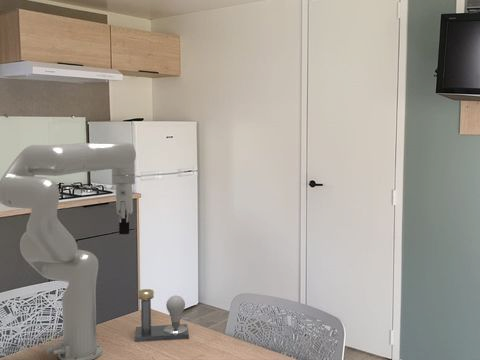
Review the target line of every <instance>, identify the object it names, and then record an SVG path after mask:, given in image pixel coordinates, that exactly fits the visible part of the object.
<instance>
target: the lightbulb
mask: <svg viewBox="0 0 480 360" xmlns="http://www.w3.org/2000/svg"><path fill="white" fill-rule="evenodd" d="M185 307H186V302H185V300H184V298H183V297H182V296H179V295H173V296H170V297H169V298H168V299H167V301H166V310H167V312H168V313H169V316H170V320H171V325H172V327H173V328H175V329H177V328H178V327H179V326H180V323H181V318H182V314H183V312H184V310H185Z"/></svg>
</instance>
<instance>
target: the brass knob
mask: <svg viewBox="0 0 480 360" xmlns="http://www.w3.org/2000/svg"><path fill="white" fill-rule="evenodd" d="M154 296H155V295H154V289H150V288H149V289H148V288H144V289H139V290H138V291H137V298H138V300H140V301H141V300H144V301H147V300H149V299H151V300H152V299H153V298H154Z"/></svg>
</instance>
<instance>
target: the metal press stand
mask: <svg viewBox="0 0 480 360" xmlns="http://www.w3.org/2000/svg"><path fill="white" fill-rule="evenodd" d="M151 300H152V299H149V300H147V301H144V300H140V308H141V309H140V310H141V311H140V313H141V315H140V318H141V320H140V321H141V326H135V333H134V342H135V343H136V342H150V341H154V342H155V341H170V340H184V339H185V340H188V339H190V338H189V328H188V324H187V323H181V324H180V326H179V327H178V328H177V329H175V328H173V327H172V324H162V325H161V324H160V325H152V306H151V305H152V304H151V303H152V301H151Z"/></svg>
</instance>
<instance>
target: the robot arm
mask: <svg viewBox="0 0 480 360" xmlns="http://www.w3.org/2000/svg"><path fill="white" fill-rule="evenodd" d="M136 158H137V153H136V149H135V146H134V144H133V143H131V142H98V143H89V142H87V143H86V142H78V143H67V144H65V143H64V144H50V145H49V144H31V145H29V146H26V147H24V148H23V150H22V151H21V152H20V153H19V154H18V155H17V156H16V158H15V159H14V160H13V161H12V163H11V165H10V166H9V167H8V169H7V170H6V171H5V172H4V174H3V175H2V177H0V204H2V205H3V206H5V207H7V208H8V207H9V208H15V209H17V208H18V209H31V210H30V215H29V218H28V221H27V224H26V231H25V232H24V233H23V234H22V236H21V238H20V241H19V250H20V253H21V256H22V257H23V259H24V260H25V261H26V262H27V263H28V264H29V265H30V266H31V267H32V268H33V269H34V270H35V271H36V272H37V273H39V275H41V276H42V277H43V278H44V279H48V280H53V281H59V282H64V283H68V285H67V287H66V288H65V290H64V292H63V294H62V296H61V297H62V298H61V299H62V300H61V304H62V305H61V306H62V307H61V310H62V338H63V339H60V343H57V345H51V346H46V354H47V355H48V354H53V356H56V355H57V358H58V359H59V360H95V359H97V358H98V357H100V356H101V355H102V353H103V347H102V346H101V345H100V344H99V343H98V342H97V339H98V338H97V306H96V305H97V302H96V301H97V299H96V298H97V297H96V295H97V294H96V293H97V292H96V288H97V287H96V286H97V278H98V272H99V260H98V257H97V256H96V255H95V254H94V253H93V252H91V251H88V250H82V249H79V248H78V244H77V241H76V239H75V238H74V237H73V235H72V234H71V233H70V232H69V231H68V229H67V228H66V227H65V226H64V225H63V224H62V223H61V222H60V220H59V219H58V207H59V201H60V189H59V187H58V185H57V183H56V182H55V180H53V179H51V178H49V177H50V176H52V177H55V176H56V177H57V176H58V177H59V176H65V175H70V174H71V175H72V174H78V173H87V172H96V171H98V172H99V171H104V170H111V184H112V185H113V186H115V203H116V204H115V206H116V207H115V208H116V214H117V215H119V222H118V224H119V225H118V226H119V228H118V231H119V233H118V234H119V235H129V234H130V221H129V215H132V214H133V212H134V211H133V210H134V208H133V207H134V206H133V204H134V202H133V185H135V184H136V180H135V179H136V176H135V173H136V171H135V170H136V167H135V160H136ZM46 176H48V177H46Z"/></svg>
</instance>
